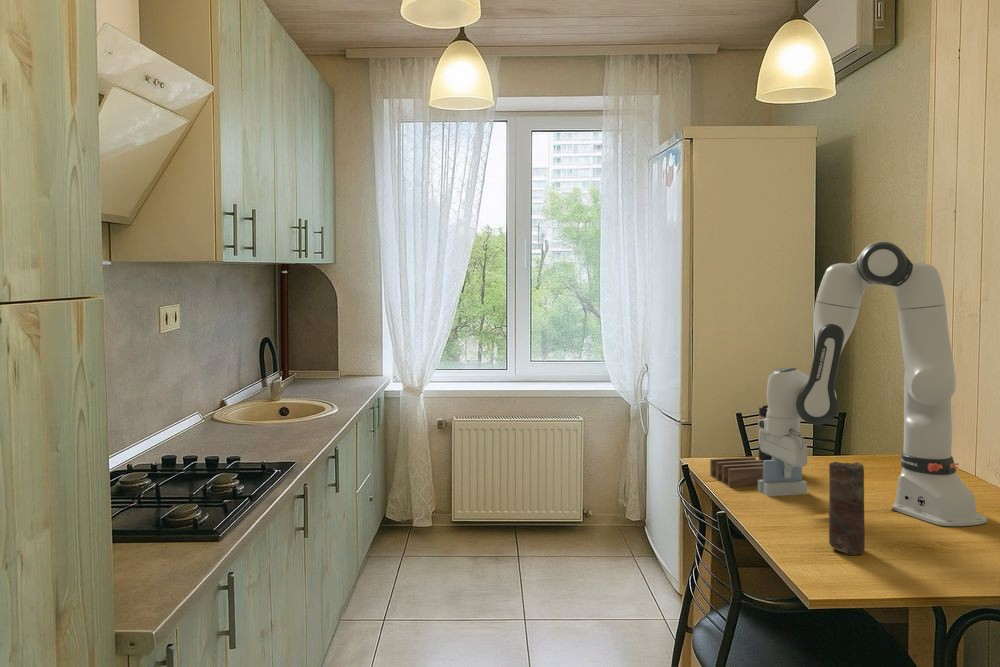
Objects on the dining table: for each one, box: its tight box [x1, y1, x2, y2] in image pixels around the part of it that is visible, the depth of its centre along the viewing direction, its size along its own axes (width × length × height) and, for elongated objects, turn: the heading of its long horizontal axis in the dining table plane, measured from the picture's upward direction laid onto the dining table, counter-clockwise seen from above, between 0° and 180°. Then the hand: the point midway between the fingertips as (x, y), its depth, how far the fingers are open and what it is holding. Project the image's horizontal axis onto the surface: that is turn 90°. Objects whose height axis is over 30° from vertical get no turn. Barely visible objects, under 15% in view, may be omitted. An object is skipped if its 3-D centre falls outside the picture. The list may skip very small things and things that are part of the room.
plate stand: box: [756, 480, 809, 497], centre depth 225 cm, size 7×12×4 cm, turn 100°
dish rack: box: [709, 456, 763, 489], centre depth 238 cm, size 14×14×6 cm
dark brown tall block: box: [828, 461, 866, 556], centre depth 181 cm, size 8×7×20 cm
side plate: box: [762, 459, 803, 494], centre depth 225 cm, size 1×11×9 cm, turn 100°
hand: (782, 475), depth 225 cm, fingers open, 3 cm apart
